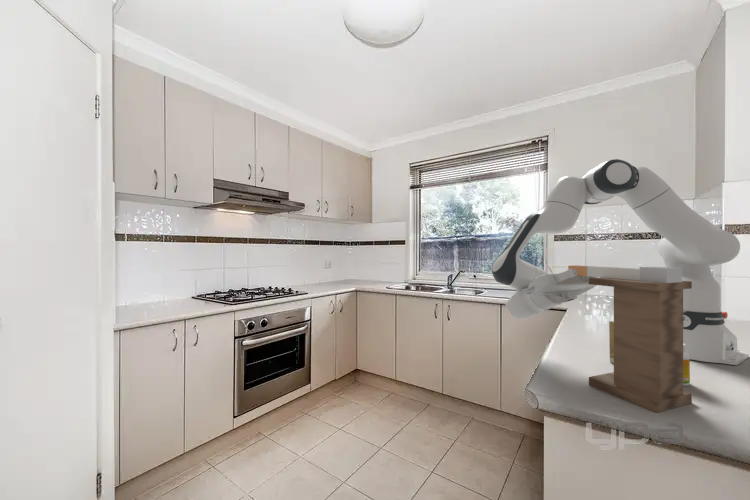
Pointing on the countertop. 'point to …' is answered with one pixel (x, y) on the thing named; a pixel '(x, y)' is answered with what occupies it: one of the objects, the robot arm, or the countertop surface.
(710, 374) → the countertop surface
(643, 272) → the grey tan flat bar
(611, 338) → the skincare box
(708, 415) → the countertop surface
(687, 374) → the supplement bottle
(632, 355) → the stand
